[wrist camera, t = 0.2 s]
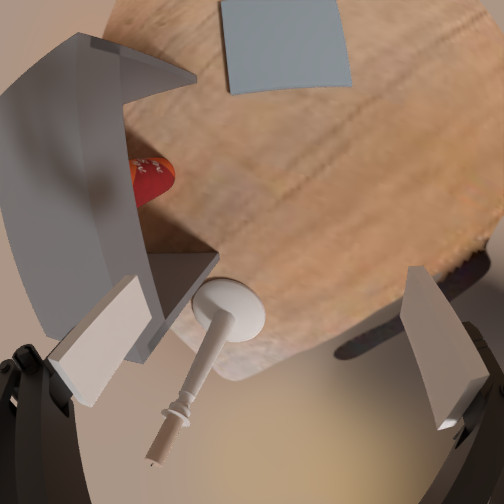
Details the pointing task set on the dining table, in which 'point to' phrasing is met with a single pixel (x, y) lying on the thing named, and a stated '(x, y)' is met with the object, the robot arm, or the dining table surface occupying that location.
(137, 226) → the shelf riser
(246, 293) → the candlestick
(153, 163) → the paper cup
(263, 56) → the mat
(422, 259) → the dining table surface
